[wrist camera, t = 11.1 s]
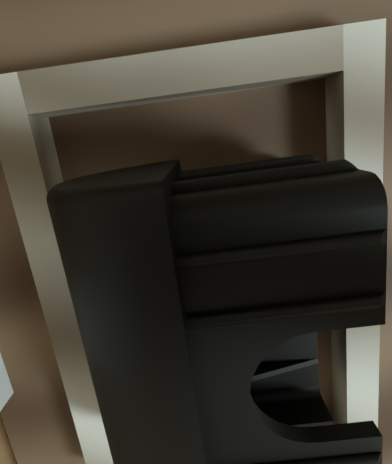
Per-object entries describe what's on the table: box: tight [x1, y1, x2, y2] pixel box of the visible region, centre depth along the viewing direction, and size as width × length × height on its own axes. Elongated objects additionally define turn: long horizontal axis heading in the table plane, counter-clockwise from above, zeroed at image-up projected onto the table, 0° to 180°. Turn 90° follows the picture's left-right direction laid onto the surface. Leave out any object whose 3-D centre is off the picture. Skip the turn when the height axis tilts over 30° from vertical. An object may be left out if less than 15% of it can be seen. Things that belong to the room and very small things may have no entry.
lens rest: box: [0, 0, 392, 464], centre depth 13 cm, size 28×20×3 cm
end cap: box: [46, 154, 388, 464], centre depth 10 cm, size 10×7×7 cm
